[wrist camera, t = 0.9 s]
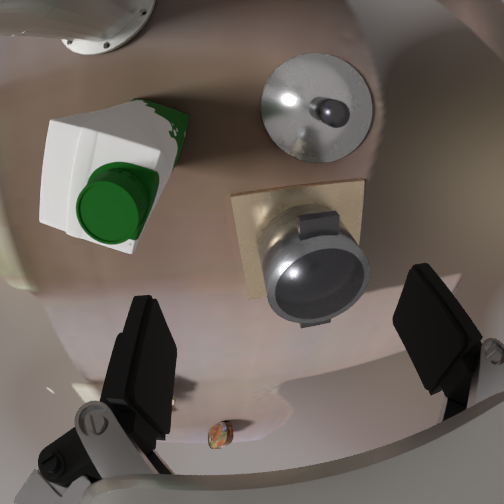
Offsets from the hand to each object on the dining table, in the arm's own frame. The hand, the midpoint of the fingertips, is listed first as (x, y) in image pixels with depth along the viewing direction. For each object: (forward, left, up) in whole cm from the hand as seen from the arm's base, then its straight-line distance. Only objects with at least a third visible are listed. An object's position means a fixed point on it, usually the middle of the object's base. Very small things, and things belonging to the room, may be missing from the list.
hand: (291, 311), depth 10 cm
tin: (+86, -20, -27) cm, 92 cm away
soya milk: (-3, -10, -27) cm, 29 cm away
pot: (+16, +7, -26) cm, 31 cm away
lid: (-3, +10, -27) cm, 29 cm away
